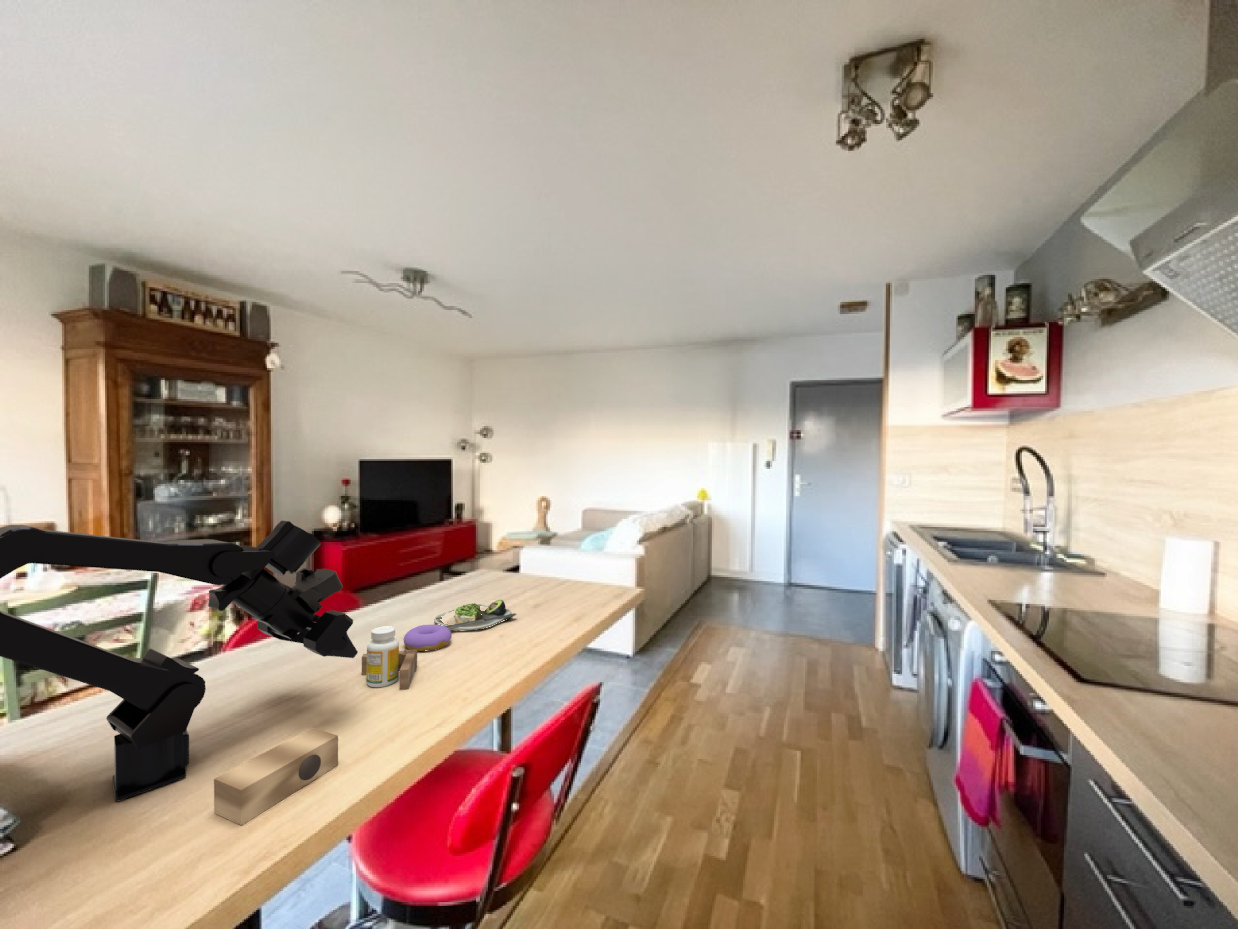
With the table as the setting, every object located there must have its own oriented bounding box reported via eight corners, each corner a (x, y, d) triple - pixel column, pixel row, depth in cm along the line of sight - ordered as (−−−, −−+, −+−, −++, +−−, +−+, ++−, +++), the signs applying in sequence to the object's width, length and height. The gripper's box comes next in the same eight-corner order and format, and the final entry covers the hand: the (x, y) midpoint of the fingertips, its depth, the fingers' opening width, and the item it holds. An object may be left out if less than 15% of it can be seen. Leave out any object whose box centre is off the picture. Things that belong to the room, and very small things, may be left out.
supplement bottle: (368, 690, 88) (368, 636, 88) (364, 679, 93) (365, 628, 93) (400, 683, 91) (401, 631, 91) (396, 673, 96) (396, 623, 96)
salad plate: (469, 642, 113) (469, 622, 113) (414, 629, 121) (414, 610, 121) (524, 618, 130) (524, 600, 130) (472, 608, 138) (472, 591, 138)
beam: (242, 826, 56) (242, 790, 56) (214, 813, 58) (214, 778, 58) (339, 765, 67) (339, 735, 67) (312, 756, 69) (312, 727, 69)
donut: (394, 652, 105) (396, 628, 106) (413, 645, 114) (415, 623, 115) (441, 653, 105) (443, 629, 106) (456, 646, 114) (458, 624, 115)
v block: (403, 691, 88) (403, 671, 88) (358, 674, 95) (358, 655, 95) (440, 674, 95) (440, 656, 95) (395, 659, 102) (395, 642, 102)
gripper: (341, 563, 76) (404, 617, 85) (278, 550, 85) (341, 599, 95) (284, 629, 69) (359, 679, 79) (223, 607, 79) (296, 654, 88)
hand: (339, 649), depth 85 cm, fingers open, 9 cm apart
